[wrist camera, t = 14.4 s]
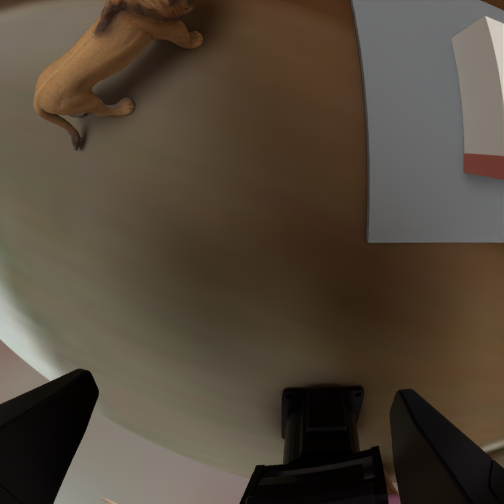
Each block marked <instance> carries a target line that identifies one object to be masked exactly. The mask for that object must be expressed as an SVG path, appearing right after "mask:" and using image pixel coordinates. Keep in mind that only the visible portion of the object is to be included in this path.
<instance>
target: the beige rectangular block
mask: <svg viewBox="0 0 504 504" xmlns="http://www.w3.org/2000/svg"><path fill="white" fill-rule="evenodd" d="M451 40H452V45H453V49H454V55H455V60H456V66H457V72H458V78H459V86H460V94H461V103H462V114H463V128H464V153H463V161H464V165H463V172H464V173H470V174H476V175H481V176H486V177H491V178H496V179H501V180H504V24H503V23H501V22H499V21H496V20H494V19H492V18H489V17H487V16H484V17H483V18H481V19H480V20H478V21H476V22H475V23H473V24H472V25H470V26H469V27H467V28H466V29H464V30H463V31H461V32H460V33H458V34H457V35H455V36H454V37H452V38H451Z"/></svg>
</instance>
